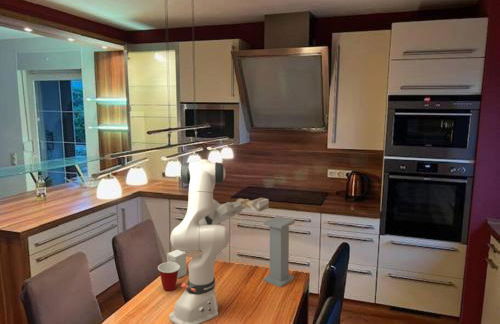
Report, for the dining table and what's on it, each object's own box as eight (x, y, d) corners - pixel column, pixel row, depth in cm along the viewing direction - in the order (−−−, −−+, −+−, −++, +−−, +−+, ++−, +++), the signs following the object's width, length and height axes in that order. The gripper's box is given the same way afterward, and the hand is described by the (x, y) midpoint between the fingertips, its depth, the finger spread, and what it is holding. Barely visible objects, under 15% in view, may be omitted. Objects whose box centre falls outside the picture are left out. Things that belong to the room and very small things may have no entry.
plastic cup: (174, 295, 176) (173, 272, 175) (154, 292, 179) (153, 269, 178) (184, 285, 187) (183, 262, 185) (165, 282, 190) (164, 260, 188)
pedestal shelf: (281, 287, 183) (281, 226, 178) (263, 280, 190) (263, 221, 185) (294, 278, 192) (294, 220, 187) (277, 272, 199) (277, 216, 194)
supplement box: (178, 270, 203) (177, 249, 201) (187, 274, 198) (186, 252, 196) (167, 275, 197) (166, 253, 195) (176, 279, 193) (175, 256, 191)
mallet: (268, 208, 195) (268, 199, 194) (259, 211, 189) (259, 202, 188) (243, 202, 206) (242, 193, 206) (233, 205, 200) (233, 196, 200)
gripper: (213, 209, 202) (228, 200, 193) (237, 201, 217) (253, 193, 209) (217, 219, 201) (233, 211, 192) (242, 211, 216) (257, 203, 207)
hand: (244, 202), depth 200 cm, fingers closed on mallet, 3 cm apart
